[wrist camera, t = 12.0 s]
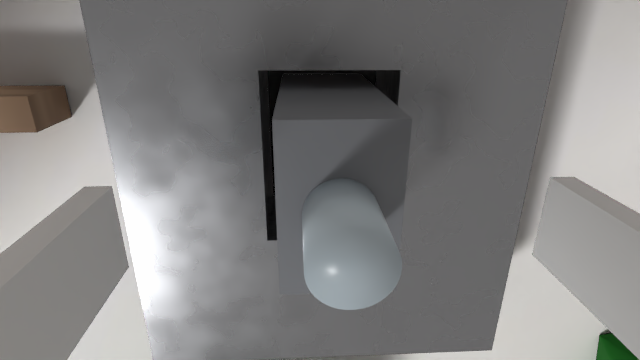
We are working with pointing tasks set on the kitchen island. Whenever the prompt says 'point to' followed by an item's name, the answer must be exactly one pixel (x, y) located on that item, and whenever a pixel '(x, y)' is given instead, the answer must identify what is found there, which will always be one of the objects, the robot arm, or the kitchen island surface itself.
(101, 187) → the robot arm
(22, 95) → the wooden planks
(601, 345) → the milk carton
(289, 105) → the plug
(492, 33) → the port block
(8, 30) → the kitchen island surface
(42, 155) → the kitchen island surface
